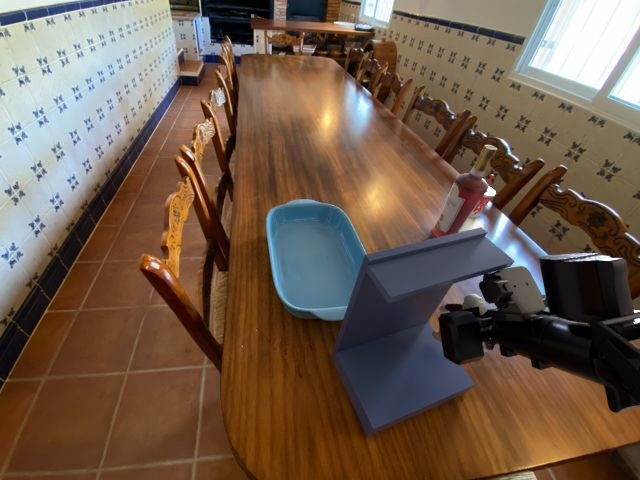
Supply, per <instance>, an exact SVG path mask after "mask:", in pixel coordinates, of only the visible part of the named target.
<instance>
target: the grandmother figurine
mask: <svg viewBox="0 0 640 480" xmlns="http://www.w3.org/2000/svg"><path fill="white" fill-rule="evenodd" d="M478 306H479V310H480V315H483V314H485V312H487V310H486V309H488V307H487V302H486V301H485V299H484V297H483V296H482V297H481V296H480V295H479V294H476V293H469V294H467V295H465V296H464V297H463V302H462V303H455V302H453V303H446V304H443V305H441V306H440V307H439V311H440V312H441V313H446V312H453V311H462V310H464V309H467V308H472V307H478ZM432 336H433V338H434V339H435V340H437V341H441V334H440V328H438V329H437V330H434V331H433V332H432ZM441 343H442V341H441Z"/></svg>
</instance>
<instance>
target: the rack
mask: <svg viewBox="0 0 640 480" xmlns="http://www.w3.org/2000/svg"><path fill="white" fill-rule="evenodd" d="M487 234H488V231H487V230H486V229H484V228H483V227H482V226H480V227H477V228H472V229H467V230H464V231H459V233H455V234H450V235H446V236H442V237H438V238H434V237H433V238H429V239H426V240H421V241H420V240H419V241H417V242H411V243H408V244H404V245H400V246H395V247H391V248H386V249H382V250H377V251H374V252H369V253H367V254H365V256H364V259H363V262H362V265H361V268H360V271H359V274H358V277H357V280H356V283H355V286H354V289H353V292H352V295H351V298H350V301H349V304H348V307H347V310H346V313H345V316H344V319H343V320H342V322H341V325H340V328H339V331H338V333H337V336H336V340H335V343H334V345H333V348H332V352H331V355H330V358H331V360H332V362H333V364H334V367H335V369H336V371H337V373H338V375H339V378H340V380H341V383H342V385H343V387H344V389H345V390H346V393H347V396H348V398H349V400H350V402H351V405H352V406H353V409H354V411H355V414H356V416H357V418H358V420H359V422H360V424H361V426H362V429H363V431H364V433H365V435H366V437H367V438H369V437H371V436H373V435H376V434H377V433H380V432H382V431H384V430H387V429H389V428H391V427H393V426H395V425H398V424H400V423H403V422H405V421H407V420H409V419H411V418H414V417H416V416H418V415H421V414H423V413H425V412H427V411H430V410H432V409H434V408H436V407H438V406H441V405H443V404H445V403H447V402H449V401H451V400H454V399H456V398H458V397H461V396H463V395H465V394H466V393H468V392H469V390H472V388H473V387H474V386H476V383H475V382H474V381H473V379H472V378H471V376H470V375H469V374H468V373H467V371H466V370H465V369H464V368H463V365H457V364H455V363H453V362H451V361H449V360H447V359H446V358H445V357H444V354H443V347H442V343H441V341H437V340H435V339H434V338H433V336H432V332H433V331H435V330H434V328H433V327H432V325H431V324H430V323H429V321H430V320H431V317H433V315H434V313H435V312H436V310H438V307H439V306H440V304H441V303H442V302H443V300H444V299H445V297H446V295H448V293H449V291H450V290H451V288H452V287H453V285H455V284H458V283H460V282H461V283H462V282H464V281H467V280H470V279H474V278H477V277H480V276H483V275H484V274H488V273H492V272H495V271H498V270H501V269H505V268H511V267H512V265H513V264H514V263H515V259H513V258H512V257H511V256H510V255H509V254H508V253H506V252H504V251H503V250H502V249H501V248H500V247H499V246H497V245H496V244H495V243H494V242H493V241H491V240H490V239H489V238H488V237H486V236H487Z"/></svg>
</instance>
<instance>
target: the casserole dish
mask: <svg viewBox="0 0 640 480" xmlns="http://www.w3.org/2000/svg"><path fill="white" fill-rule="evenodd" d="M265 231H266V238H267V246H268V247H267V248H268V253H269V260H270V268H271V269H270V270H271V275H272V280H273V285H274V289H275V291H276V294H277V296H278V297H279V299H280V301H281V303H282V306H284V308H285V309H286V311H287V312H289V314H290V315H292V316H294V317H296V318H299V319H303V320H304V319H306V320H316V319H321V320H322V321H326V322H337V321H343V319H344V316H345V313H346V310H347V307H348V304H349V301H350V298H351V295H352V292H353V289H354V286H355V283H356V280H357V277H358V274H359V271H360V268H361V265H362V262H363V259H364V256H365V254H368V253H367V251H366V249H365V247H364V245H363V243H362V241H361V239H360V237H359V235H358V232H357V231H356V229H355V226H354V225H353V223H352V221H351V220H350V217H349V216H348V214H347V213H346V212H345V211H344V210H343V209H341V208H340V207H338V206H336V205H333V204H331V203H326V202H325V203H324V202H320V201H317V200H314V199H303V198H301V199H292V200H290V201H288V202H287V203H284V204H281V205H277V206H274V207H272V208H271V209H270V210H269V211H268V212H267V214H266V218H265Z"/></svg>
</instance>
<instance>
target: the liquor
mask: <svg viewBox="0 0 640 480" xmlns="http://www.w3.org/2000/svg"><path fill="white" fill-rule="evenodd" d="M497 151H498V148H497V146H494V145H492V144H484V146H483V147H482V149H481V151H480V154H479V157H478V159H477V160H476V162H475V164H474V165H473V166H472V168H471V170H470V171H469V172H464V173H461V174H460V173H459V174H458V175H456V177H455V179H454V181H453V183H452V185H451V188H450V190H449V192H448V195H447V197H446V199H445V201H444V202H445V203H444V205H443V207H442V209H441V212H440V213H439V216H438V218H437V220H436V222H435V224H434V226H433V227H432V228H430V234H431V236H432V237H433V238H438V237H442V236H446V235H450V234H455V233H459V232H461V230H462V228H463V227H464V225H465V224H466V222H467V221H468V219H469V218H470V215H471V213H472V212H473V210H474V209H475V207H476V206H477V205H478V203H479V202H480V200H481V198H482V197H483V195H484V194H485V192H486V191H487V189H488V188H489V187H490V186H489V185H488V184H487V183H488V181H486V179H485V178H483V177H484V175H485V173H486V170H487V168H488V166H489V163H490V161H492V159H493V158H494V157H495V155H496V153H497Z"/></svg>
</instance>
